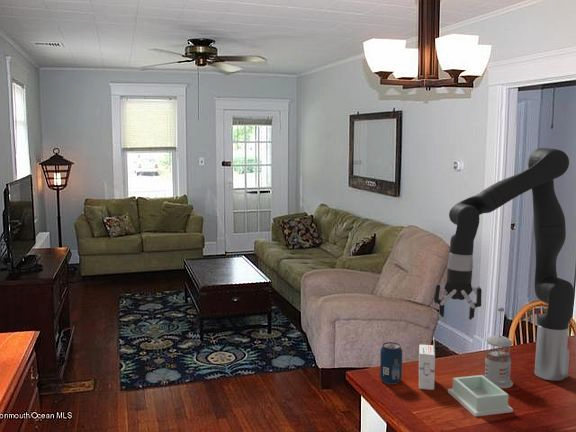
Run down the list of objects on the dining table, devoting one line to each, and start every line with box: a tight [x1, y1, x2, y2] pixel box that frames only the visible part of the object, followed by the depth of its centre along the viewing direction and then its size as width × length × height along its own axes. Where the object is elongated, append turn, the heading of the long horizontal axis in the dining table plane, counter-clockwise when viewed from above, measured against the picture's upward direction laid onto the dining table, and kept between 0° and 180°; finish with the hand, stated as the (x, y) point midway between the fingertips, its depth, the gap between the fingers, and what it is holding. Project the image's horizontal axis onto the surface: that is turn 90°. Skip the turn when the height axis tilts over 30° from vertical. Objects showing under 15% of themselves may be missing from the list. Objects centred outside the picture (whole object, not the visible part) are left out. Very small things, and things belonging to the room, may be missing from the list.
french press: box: [483, 306, 514, 389], centre depth 187 cm, size 10×12×25 cm
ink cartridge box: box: [418, 336, 436, 391], centre depth 186 cm, size 9×5×15 cm, turn 168°
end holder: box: [447, 374, 514, 417], centre depth 174 cm, size 12×16×5 cm
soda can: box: [379, 341, 403, 385], centre depth 188 cm, size 7×7×12 cm
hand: (456, 317), depth 184 cm, fingers open, 8 cm apart
